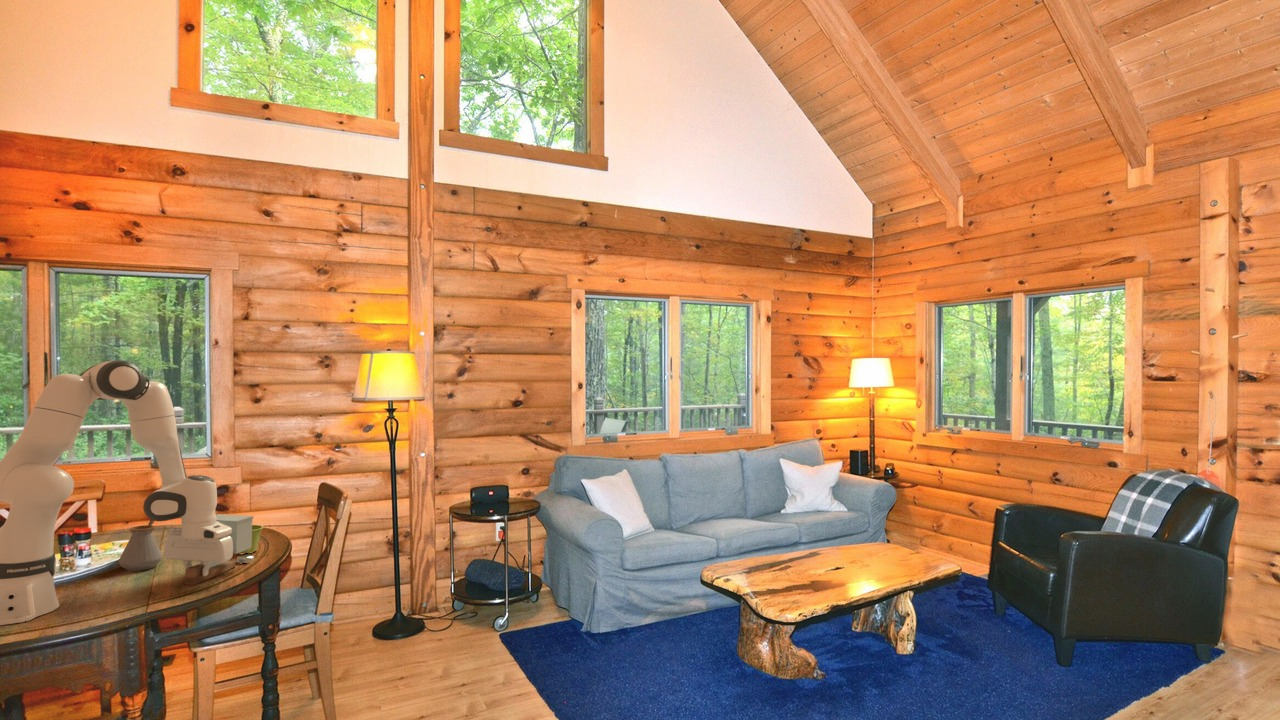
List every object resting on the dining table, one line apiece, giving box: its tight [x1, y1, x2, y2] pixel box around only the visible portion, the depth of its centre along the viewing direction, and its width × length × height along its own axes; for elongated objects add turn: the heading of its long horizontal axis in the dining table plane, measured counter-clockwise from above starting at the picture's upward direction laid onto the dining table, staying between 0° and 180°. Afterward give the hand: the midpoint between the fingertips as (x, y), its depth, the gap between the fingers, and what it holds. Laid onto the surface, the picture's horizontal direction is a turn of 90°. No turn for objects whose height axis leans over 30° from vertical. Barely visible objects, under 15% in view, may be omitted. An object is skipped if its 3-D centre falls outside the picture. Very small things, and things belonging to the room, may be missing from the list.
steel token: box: [236, 554, 255, 563], centre depth 223 cm, size 5×5×2 cm
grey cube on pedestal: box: [200, 513, 254, 568], centre depth 214 cm, size 7×12×17 cm, turn 84°
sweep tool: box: [184, 560, 237, 585], centre depth 208 cm, size 18×3×4 cm, turn 174°
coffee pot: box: [118, 519, 164, 572], centre depth 219 cm, size 21×12×15 cm, turn 21°
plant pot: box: [239, 524, 264, 554], centre depth 234 cm, size 9×9×9 cm
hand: (197, 575), depth 202 cm, fingers closed on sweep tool, 3 cm apart
